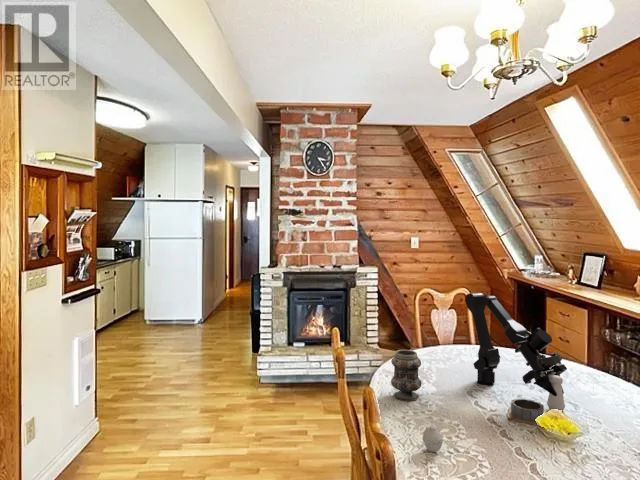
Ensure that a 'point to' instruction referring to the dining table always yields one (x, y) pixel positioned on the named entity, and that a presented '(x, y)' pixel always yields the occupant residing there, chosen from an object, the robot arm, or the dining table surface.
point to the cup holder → (525, 411)
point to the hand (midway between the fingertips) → (559, 394)
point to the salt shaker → (558, 400)
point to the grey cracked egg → (432, 439)
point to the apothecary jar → (406, 375)
